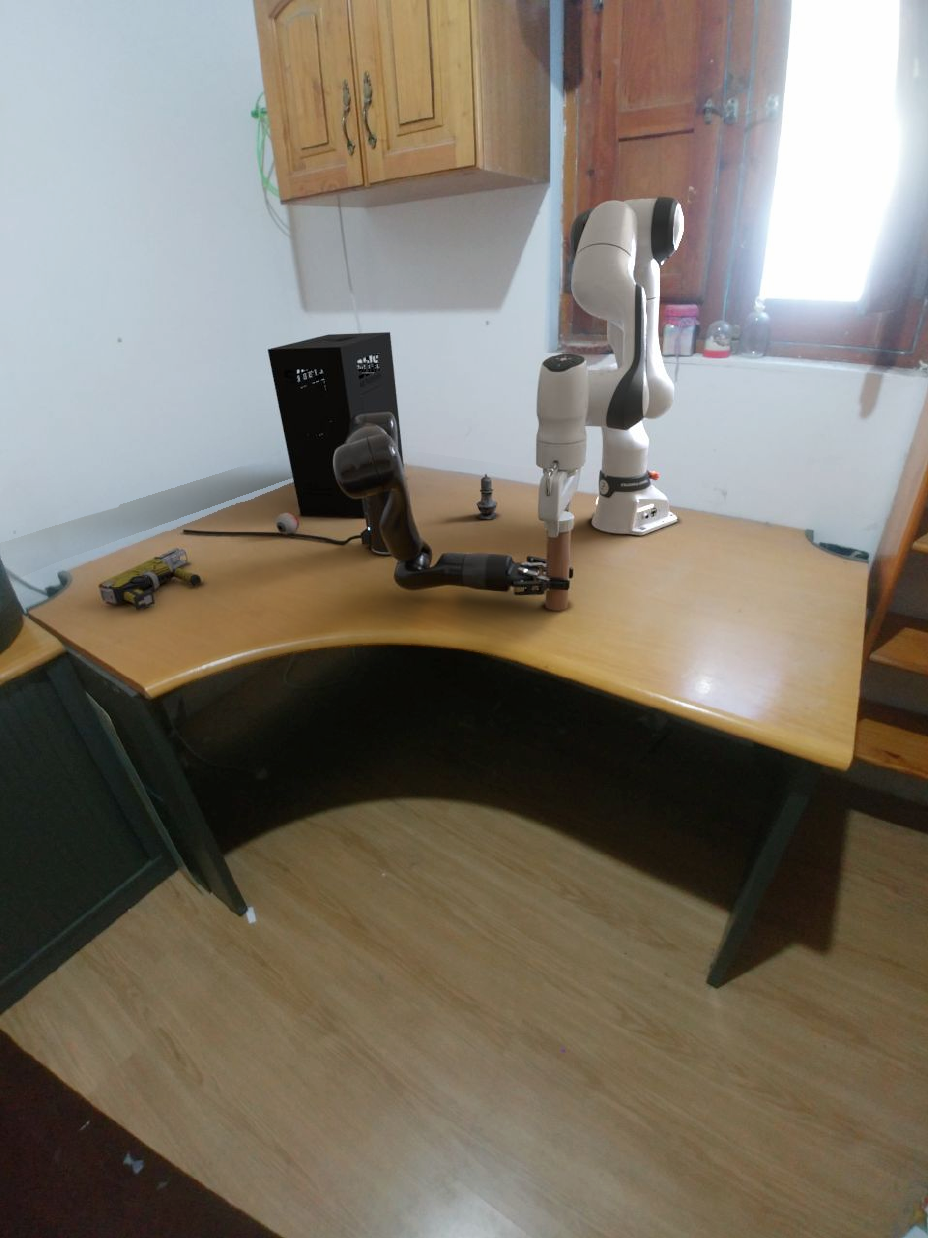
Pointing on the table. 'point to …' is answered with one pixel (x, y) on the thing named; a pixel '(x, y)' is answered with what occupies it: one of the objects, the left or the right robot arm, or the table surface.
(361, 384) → the cardboard box
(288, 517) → the eyeball
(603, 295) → the right robot arm
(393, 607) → the table surface
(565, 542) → the tan cylinder
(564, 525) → the lid
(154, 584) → the toy gun
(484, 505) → the grey stone chess piece
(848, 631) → the table surface
